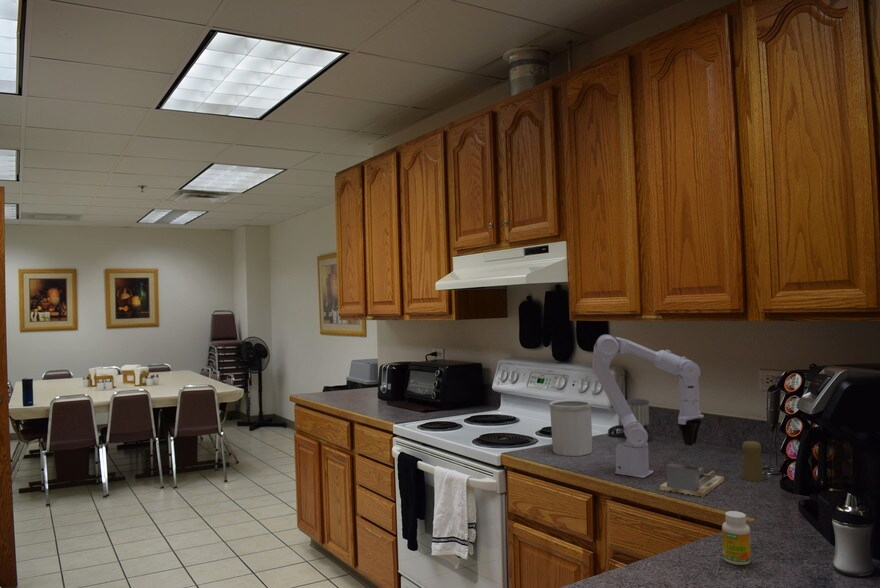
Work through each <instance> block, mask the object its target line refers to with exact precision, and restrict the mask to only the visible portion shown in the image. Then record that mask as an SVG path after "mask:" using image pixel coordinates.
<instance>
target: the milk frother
mask: <svg viewBox="0 0 880 588" xmlns="http://www.w3.org/2000/svg"><path fill="white" fill-rule="evenodd" d="M625 400H626V402H627V403H628V405H629V407H630V409H631V411H632V413H633V414H634V416H635V418H636V420H637V421H638V422H640V423H641V424H642V425H643V427H644V429H645V430H646V431H647V433H648V440H647V442H650V441H651V433H650V411H649V409H650V407H649V403H650V401H649V400H647V399H645V398H644V399H641V398H632V399H631V398H630V399H625ZM619 429H621V430H622V431H623V432H621V433H617V432H618V430H619ZM607 434H608V435H609V436H611V437H616V438H620V437H624V436H625V434H624V426H623V424H619V425H617V424H616V425H614V426H611V427H609V429H608V430H607ZM624 438H625V440H626V439H627V437H626V436H625V437H624Z"/></svg>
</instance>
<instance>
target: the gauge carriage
mask: <svg viewBox="0 0 880 588" xmlns="http://www.w3.org/2000/svg"><path fill="white" fill-rule="evenodd" d="M692 467H694V466H692ZM704 469H705V468H704V467H701V466H700V467H699V480H700V479H701V478H702V477H704V476H705V477H711V476H708V475H704V474H705V472H704V471H705V470H704Z"/></svg>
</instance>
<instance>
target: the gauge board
mask: <svg viewBox="0 0 880 588" xmlns="http://www.w3.org/2000/svg"><path fill="white" fill-rule="evenodd" d="M704 475H708V476H711V477H705V476H704V477H702V478H701V479H700V480H699V490H697V491H696V492H694V491H688V490H682V489H677V488H671V487H667V480H666V481H665V482H663V483H662V484H660V485H659V490H660V491H664V490H665V492H669V491H672V492H671V493H675V492H678V493H677V494H681V493H684V494H683V495H687V494H690V495H689V496H692V495H695V496H694V497H698V496H701V497H700V498H705V495H706V494H707V495H708V494H710V493H711V492H712V491H713V490H714V488H715V487H716V486H717V485H718V486H720V485H721V484H723V481H724V482H725V476H723V475H716V471H715V470H711V471H709V472H708V473H704ZM720 483H721V484H720ZM719 484H720V485H719ZM718 486H717V487H718ZM717 487H716V488H717ZM716 488H715V489H716ZM711 490H712V491H711ZM710 491H711V492H710ZM709 492H710V493H709ZM707 495H706V496H707Z"/></svg>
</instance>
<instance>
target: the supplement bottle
mask: <svg viewBox="0 0 880 588" xmlns="http://www.w3.org/2000/svg"><path fill="white" fill-rule="evenodd" d="M724 520H725V522H723V524H722V525H721V526H722V527H721V539H722V559H723V560H724V561H725V562H726V563H728V564H731V565H739V566H743V565H744V566H745V565H748V564H750V563H751V560H752V559H751V558H752V556H751V528H750V526H749V525H748V524H746V523H747V514H745V513H743V512H742V511H741V512H740V511H737V510H729V511H726V512H725V518H724Z"/></svg>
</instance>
